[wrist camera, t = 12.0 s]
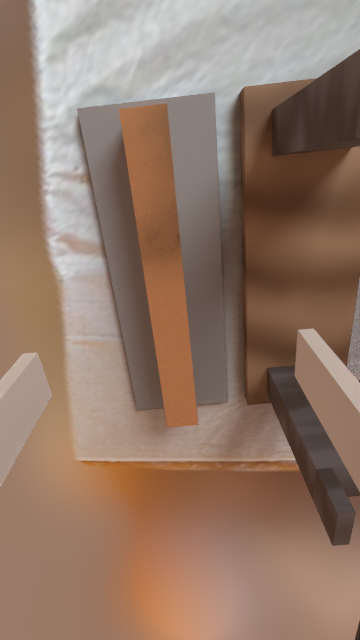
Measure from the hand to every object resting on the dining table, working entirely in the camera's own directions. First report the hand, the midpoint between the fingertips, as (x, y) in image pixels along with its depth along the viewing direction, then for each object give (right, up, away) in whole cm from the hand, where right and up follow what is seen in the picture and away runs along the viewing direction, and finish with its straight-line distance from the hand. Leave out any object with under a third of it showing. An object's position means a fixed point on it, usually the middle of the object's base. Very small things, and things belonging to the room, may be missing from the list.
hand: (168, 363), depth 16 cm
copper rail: (0, +5, +12) cm, 14 cm away
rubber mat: (0, +6, +13) cm, 14 cm away
